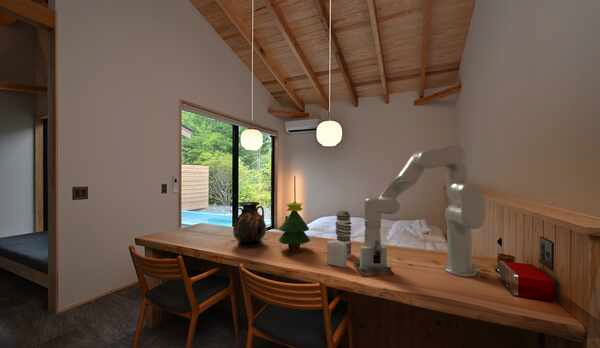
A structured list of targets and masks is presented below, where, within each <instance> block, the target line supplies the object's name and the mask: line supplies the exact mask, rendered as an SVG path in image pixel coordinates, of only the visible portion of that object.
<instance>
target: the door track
mask: <svg viewBox="0 0 600 348" xmlns="http://www.w3.org/2000/svg"><path fill="white" fill-rule="evenodd" d="M353 265H354V268H355V269H356V270H357V272H358V273H359V274H360V276H361V277H385V276H386V277H387V276H388V277H390V276H395V272H394V271H393V270H392V267H391V266H387V267H370V268H360V261H356V262H355V263H354V264H353Z"/></svg>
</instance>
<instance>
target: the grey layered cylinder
mask: <svg viewBox="0 0 600 348" xmlns="http://www.w3.org/2000/svg"><path fill="white" fill-rule="evenodd" d="M351 231H352V222H351V213H350V212H349V211H348V210H339V211H338V212H337V213H336V221H335V233H336V234H335V235H336V241H341V242H343V243H345V244H346V247H347V258H350V257H351V256H352V243H351V236H352V232H351Z"/></svg>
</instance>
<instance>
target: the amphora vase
mask: <svg viewBox="0 0 600 348" xmlns="http://www.w3.org/2000/svg"><path fill="white" fill-rule="evenodd" d="M240 206H241V207H240ZM259 209H261V213H259ZM239 210H241V213H240V214H238V211H239ZM238 215H239V216H238ZM232 233H233V237H234V238H235V239H236V241H237V243H236V245H237V246H238V247H239V248H240V249H241V248H242V249H254V248H258V247H260V246H262V245H263V238H264V237H265V236H266V234H267V225H266V221H265V209H264V208H263V206H262V205H260V202H259V201H244V202H240V203H239V207H236V208H235V211H234V224H233V228H232Z"/></svg>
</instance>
